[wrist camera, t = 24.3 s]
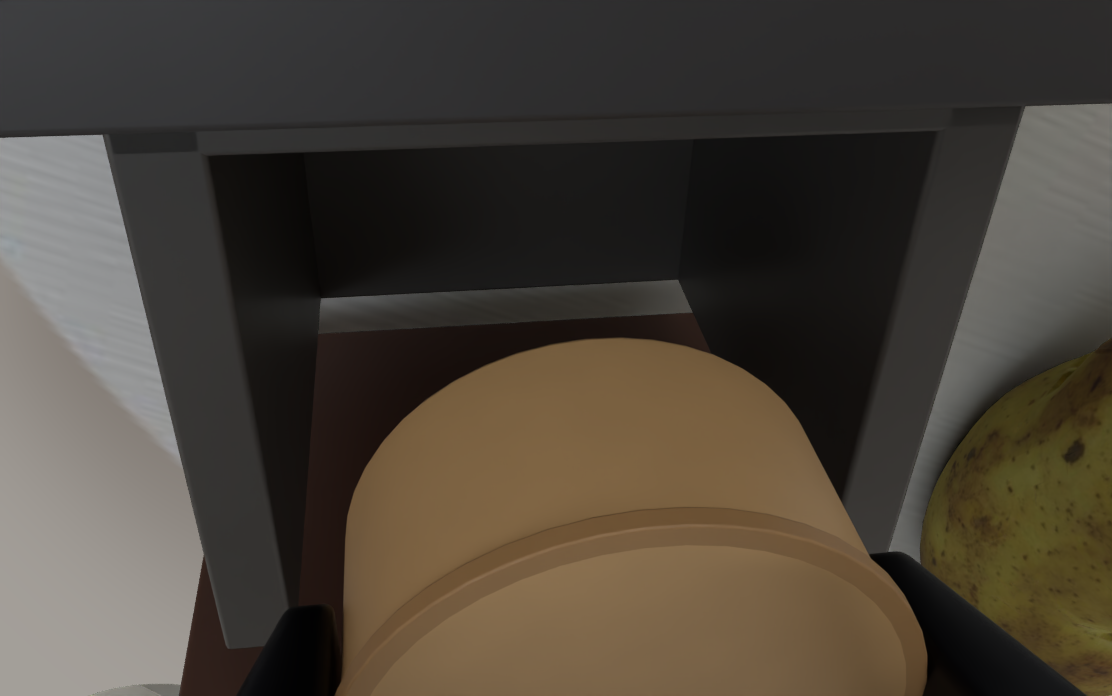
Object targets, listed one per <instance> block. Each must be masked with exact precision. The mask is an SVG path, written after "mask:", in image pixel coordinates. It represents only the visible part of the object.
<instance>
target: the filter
mask: <svg viewBox="0 0 1112 696" xmlns="http://www.w3.org/2000/svg"><path fill="white" fill-rule="evenodd" d="M926 683H927V651H926V646H925V641H924V637H923V632H922V629H921V627H920V625H919V623H918V621H917V619H916V617H915V615H914V613H913V610H912V608H911V607H910V605H909V603H908V601H907V599H906V597H905V595H904V594H903V592H902V591H901V590H900V588H899V587H898V586H897V585H896V583H895V582H894V581H893V579H892V578H891V577H890V576H889V574H888V573H887V572H886V571H885V570H883V569H882V568H881V567H880V566H879V565H878V564H877V563H875V562H874V561H873V560H872V559H871V558H870V556H869V554H868V552H867V550H866V548H865V546H864V545H863V543H862V541H861V539H860V537H859V535H858V533H857V531H856V529H855V527H854V525H853V524H852V522H851V520H850V518H849V516H848V514H847V512H846V510H845V508H844V506H843V504H842V502H841V501H840V499H839V497H838V495H837V493H836V491H835V489H834V487H833V485H832V483H831V481H830V479H829V478H828V476H827V474H826V472H825V470H824V468H823V466H822V464H821V462H820V460H819V458H818V456H817V455H816V453H815V451H814V449H813V447H812V445H811V443H810V441H809V439H808V437H807V435H806V434H805V432H804V430H803V428H802V426H801V424H800V422H799V420H798V419H797V418H796V416H795V415H794V414H793V412H792V411H791V410H790V408H789V407H788V406H787V404H786V403H785V402H784V401H783V400H782V399H781V398H780V397H779V396H778V395H777V394H776V393H775V392H774V391H773V390H771V389H770V388H769V387H768V386H767V385H766V384H765V383H763V382H762V381H760V380H759V379H757V378H756V377H754V376H753V375H751V374H750V373H748V372H747V371H745V370H744V369H742V368H740V367H738V366H736V365H734V364H732V363H730V362H728V361H726V360H724V359H722V358H720V357H717V356H715V355H713V354H710V353H707V352H704V351H701V350H697V349H694V348H691V347H688V346H685V345H680V344H674V343H669V342H664V341H659V340H653V339H638V338H624V337H615V338H591V339H581V340H574V341H567V342H561V343H554V344H549V345H545V346H541V347H538V348H534V349H530V350H526V351H522V352H518V353H515V354H513V355H510V356H507V357H505V358H502V359H500V360H497V361H494V362H492V363H489V364H486V365H484V366H482V367H480V368H478V369H476V370H474V371H472V372H470V373H468V374H466V375H464V376H462V377H460V378H458V379H456V380H454V381H453V382H451V383H450V384H448V385H447V386H445V387H444V388H442V389H441V390H439V391H438V392H436V393H435V394H433V395H432V396H430V397H429V398H427V399H426V400H425V401H424V402H423V403H421V404H420V405H419V406H418V407H417V408H415V409H414V410H413V411H412V412H411V413H410V414H408V415H407V416H406V417H405V418H404V419H403V420H402V421H401V422H400V423H399V424H398V425H397V426H396V428H395V429H394V430H393V431H392V432H391V433H390V434H389V435H388V436H387V437H386V439H385V440H384V441H383V442H382V444H381V445H380V446H379V448H378V449H377V451H376V452H375V454H374V455H373V457H372V458H371V460H370V461H369V463H368V464H367V466H366V467H365V469H364V471H363V474H362V476H361V478H360V480H359V482H358V484H357V486H356V488H355V491H354V494H353V497H352V501H351V504H350V508H349V512H348V515H347V526H346V537H345V565H344V597H343V628H342V660H341V683H340V685H339V687H338V689H337V691H336V694H335V696H922V695H923V692H924V689H925V686H926Z"/></svg>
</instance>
